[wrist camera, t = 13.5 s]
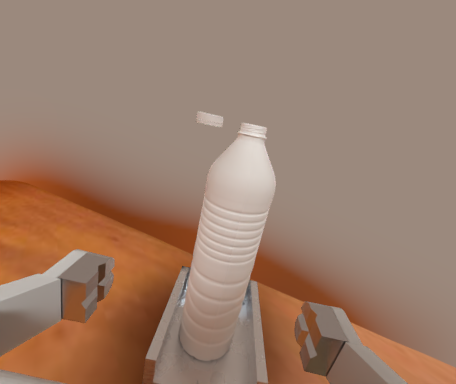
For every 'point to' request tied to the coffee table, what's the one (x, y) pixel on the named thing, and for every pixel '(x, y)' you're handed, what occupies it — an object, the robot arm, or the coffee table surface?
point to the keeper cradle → (214, 369)
